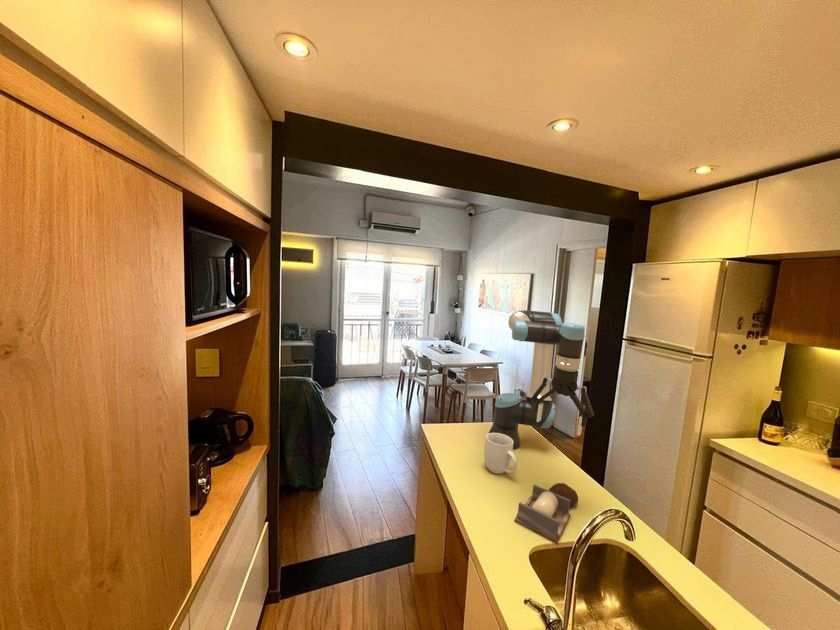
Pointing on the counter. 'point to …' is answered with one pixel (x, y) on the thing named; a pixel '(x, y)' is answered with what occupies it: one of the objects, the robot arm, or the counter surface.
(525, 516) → the cradle
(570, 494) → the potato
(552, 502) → the roll
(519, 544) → the counter surface
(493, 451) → the mug
